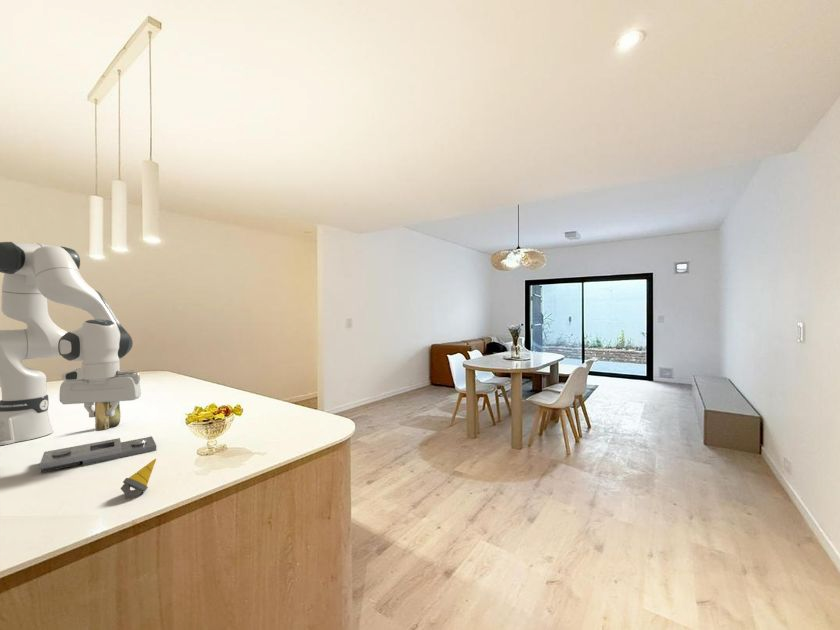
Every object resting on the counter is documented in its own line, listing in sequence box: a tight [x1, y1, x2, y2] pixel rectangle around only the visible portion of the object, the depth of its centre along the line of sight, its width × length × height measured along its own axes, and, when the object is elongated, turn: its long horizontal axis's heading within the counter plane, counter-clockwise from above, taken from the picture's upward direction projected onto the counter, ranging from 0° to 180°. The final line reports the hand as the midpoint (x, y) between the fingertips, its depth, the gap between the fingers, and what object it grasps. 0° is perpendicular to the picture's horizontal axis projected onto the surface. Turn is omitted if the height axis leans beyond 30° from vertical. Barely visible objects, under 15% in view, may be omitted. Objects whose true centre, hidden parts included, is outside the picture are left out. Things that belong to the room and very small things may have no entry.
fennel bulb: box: [109, 402, 121, 428], centre depth 142 cm, size 6×5×12 cm
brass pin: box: [94, 402, 110, 432], centre depth 112 cm, size 3×3×10 cm
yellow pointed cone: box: [120, 458, 157, 499], centre depth 89 cm, size 5×5×10 cm
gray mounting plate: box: [39, 436, 157, 473], centre depth 112 cm, size 26×12×4 cm, turn 132°
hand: (102, 416), depth 112 cm, fingers closed on brass pin, 3 cm apart
